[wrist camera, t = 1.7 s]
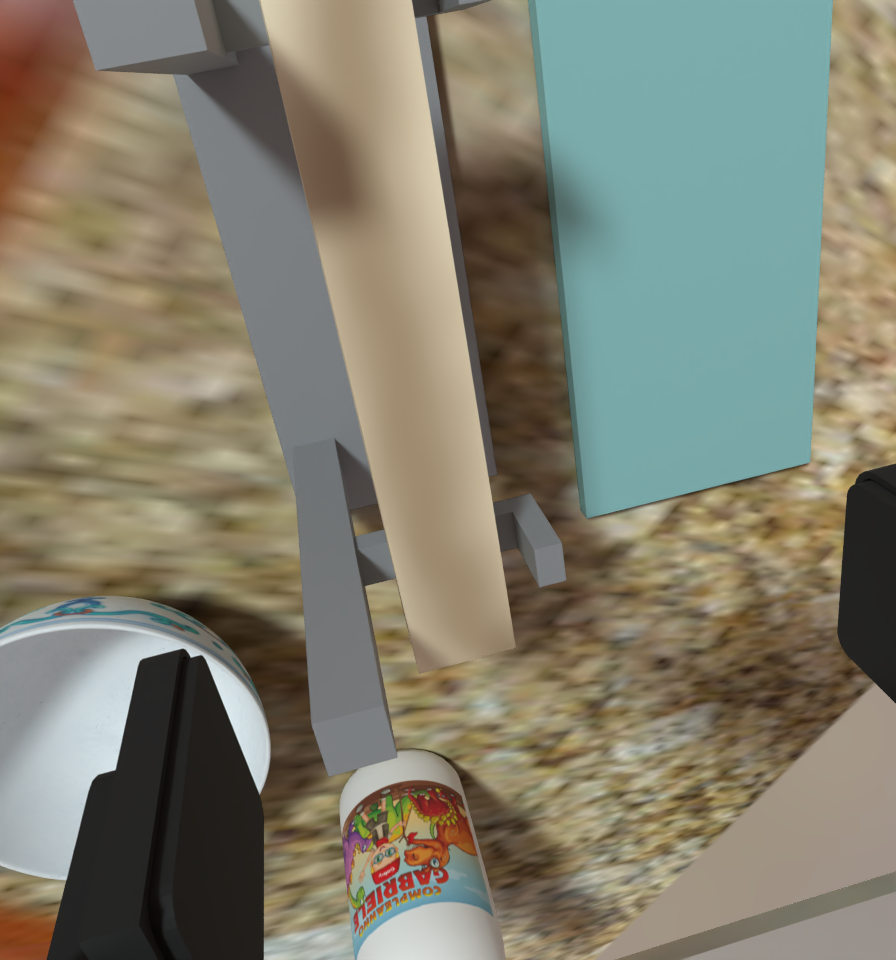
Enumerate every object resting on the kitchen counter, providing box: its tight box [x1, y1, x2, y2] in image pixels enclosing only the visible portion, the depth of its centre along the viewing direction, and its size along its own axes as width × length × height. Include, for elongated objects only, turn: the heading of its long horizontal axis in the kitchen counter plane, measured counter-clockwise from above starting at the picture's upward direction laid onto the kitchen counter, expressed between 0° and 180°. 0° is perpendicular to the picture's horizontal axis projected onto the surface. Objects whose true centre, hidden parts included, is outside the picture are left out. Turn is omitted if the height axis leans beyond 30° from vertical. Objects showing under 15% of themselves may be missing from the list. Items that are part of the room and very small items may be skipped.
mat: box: [528, 0, 833, 518], centre depth 38 cm, size 13×30×1 cm, turn 10°
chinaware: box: [0, 596, 271, 880], centre depth 40 cm, size 15×15×8 cm
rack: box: [73, 0, 566, 777], centre depth 28 cm, size 10×24×20 cm, turn 10°
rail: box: [259, 0, 516, 674], centre depth 25 cm, size 4×24×3 cm, turn 10°
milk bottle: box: [340, 749, 506, 960], centre depth 42 cm, size 8×8×20 cm
